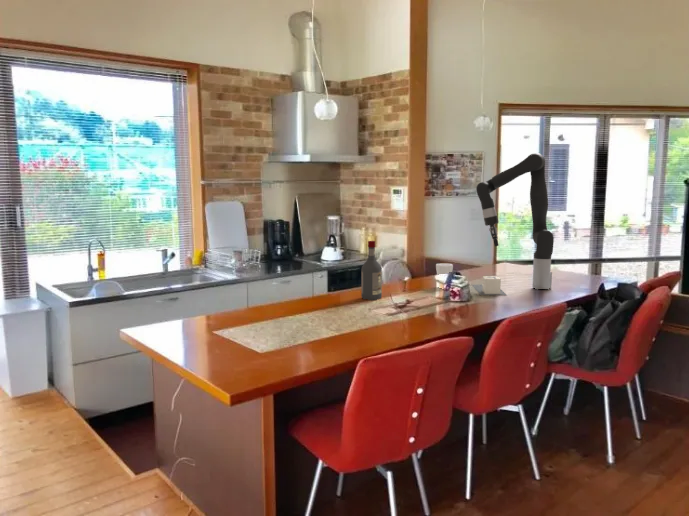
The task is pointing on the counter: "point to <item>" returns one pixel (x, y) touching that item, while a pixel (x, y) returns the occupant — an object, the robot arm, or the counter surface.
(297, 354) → the counter surface
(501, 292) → the rubber mat
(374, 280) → the liquor
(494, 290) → the off-white cube
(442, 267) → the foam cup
